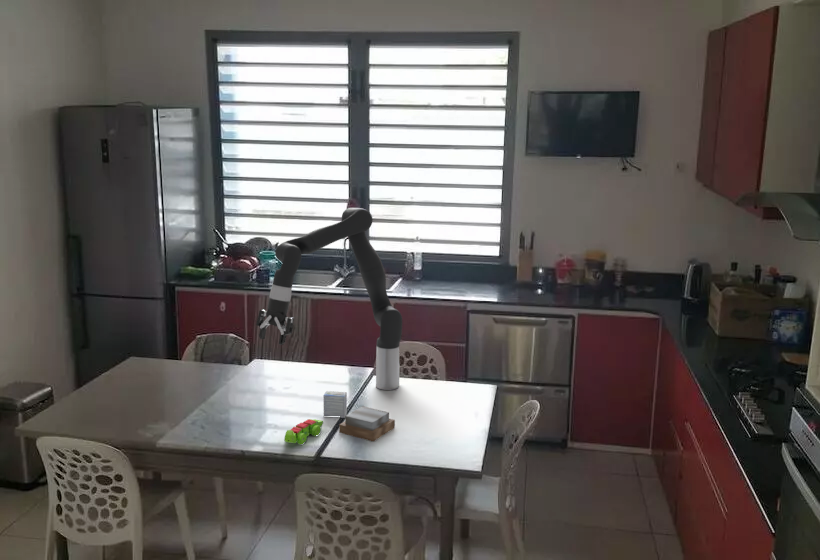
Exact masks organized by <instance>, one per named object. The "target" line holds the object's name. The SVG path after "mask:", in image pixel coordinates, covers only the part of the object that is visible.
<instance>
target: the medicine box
mask: <svg viewBox="0 0 820 560" xmlns="http://www.w3.org/2000/svg"><path fill="white" fill-rule="evenodd" d="M347 395H348V393H347V392H345V391H331V390H326V391H325V392H324V394H323V417H324V416H340V417H341V418H340V419H345V416H346V415H348V409H347V408H348V407H347V404H348V402H347V401H348V400H347V399H348V396H347Z"/></svg>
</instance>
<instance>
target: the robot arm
mask: <svg viewBox="0 0 820 560" xmlns="http://www.w3.org/2000/svg"><path fill="white" fill-rule="evenodd" d="M372 224H373V216H372V214H371V212H370V211H369V210H367V209H364V208H362V207H361V208H360V207H349V208H346V209H345V210H344V211H343V212H342V215H341V221H339V222H336V223H334V224H331V225H326V226H324V227H321V228H317V229H315V230H312V231H310V232H308V233H306V234H304V235H303V236H300V237H296V238H293V239H289V240H286V241H284V242H281V243H280V244H279V245H278V246H277V247H276V249H275V252H274V254H275V258H276V259H277V260H278V261H279V262H282V263H281V266H280V268H278V269H275V272H274V276H273V280H272V285H271V289H270V292H269V297H268V303H267V307H266V309H267V310H266V309H260V310H259V311H258V315H257V320H256V323H255V324H256V326H258V327H259V329H260V330H259V334H258V335H259V339H260V340H264V339H265V338H266V334H267V328H268V327H269V326H274V327H277V329H278V330H279V331H280V335H279V340H278V345H280V346H284V344H285V343H286V341H287V340H286V339H287V336H288V335H291V334H293V327H294V321H295V317H288V316H287V315H288V312H289V307H290V303H291V298H292V292H293V291H292V289H293V283H294V279H295V278H294V277H295V275H296V274H297V271H298V269H299V266H300V264H301V261H302V255H310V254H313V253H315V252H317V251H319V250H322V249H323V248H325V247H326V246H329V245H331V244H333V243H335V242H337V241H340V240H342V239H344V238H347V239H348V240H349V243H350V245H351V248H352V250H353V254H354V257H355V260H356V263H357V265H358V270H359V272H360V275H361V278H362V281H363V284H364V287H365V289H366V292H367V295H368V297H369V300H370V304H371V308H372V313H373V318H374V321H375V323H376V324H377V325H378V326H379V327H380V329H379V330H380V331H379V337H378V338H377V339H376V355H375V356H376V359H375V361H376V362H375V363H376V364H375V365H376V367H375V368H376V369H375V387H376V388H377V389H379V390H382V391H390V390H391V391H393V390H397V389H398V388H399V387H400V386H399V385H400V368H401V367H400V344H401V341H402V335H403V316H402V313H401V312H400V311H399V310H398V309H397V308H394V306H392V304H391V301H390V299H389V298H390V297H389V296H388V293H387V277H386V271H385V268H384V265H383V262H382V260H381V258H380V256H379V254H378V252H377V251H376V250H375V248H374V247H373V246H372V244H371V243H370V241H369V238H368V237H367V234H366V232H367V231H368V230H369V229H370V228H372V227H371V226H372Z"/></svg>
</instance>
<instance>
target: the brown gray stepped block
mask: <svg viewBox="0 0 820 560" xmlns="http://www.w3.org/2000/svg"><path fill="white" fill-rule="evenodd" d="M344 419H345V421H343V422H341V423H339V427H338V428H339V429H338V431H339V433H340V434H343V435H346V436H350V437H353V438H354V437H355V438H357V439H361V440H366V441H370V442H376V441H377V440H379V439H380V438H383V436H385V435H387V434H388V433H389V432H391V431H392V430H394V429H395V428H396V427H395V425H396V424H395V422H396V420H395V419H393V418H390V412H389V411H384V410H381V409H377V408H372V407H368V406H364V405H362V406H360V407H359V408H356V409H355V410H353V411H351V412H350V413H347V414H346V416H345V418H344Z"/></svg>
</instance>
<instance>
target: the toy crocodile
mask: <svg viewBox="0 0 820 560" xmlns="http://www.w3.org/2000/svg"><path fill="white" fill-rule="evenodd" d="M323 424H324V420H320V419H311V418H310V419H307V420H304V421H303V422H299V423H297V424H296V425H295V426H293V427H292V428H291V429H287V430H286V431H285V435H284V439H283V440H284V443H290V444H296V443H297V444H298V445H301V444H303V443H304V442H305V443H306V442H307V440H308V437H309V436H310V435H312V437H316V435H318V434H319V433H320V434H321V429H322V427H323ZM320 434H319V435H320ZM303 445H304V444H303Z"/></svg>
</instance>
